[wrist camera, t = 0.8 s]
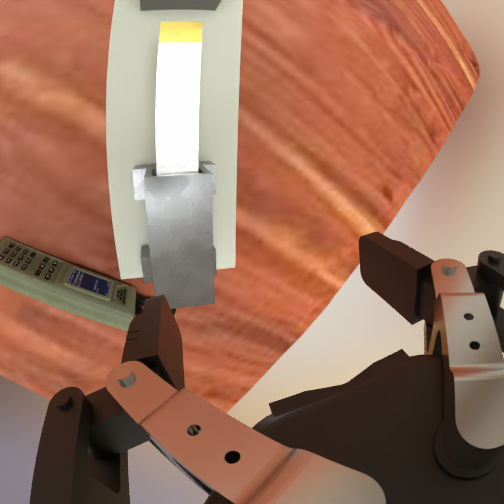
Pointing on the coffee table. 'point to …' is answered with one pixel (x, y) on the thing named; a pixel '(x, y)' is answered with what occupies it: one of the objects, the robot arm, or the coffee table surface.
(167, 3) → the socket
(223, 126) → the base board
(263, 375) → the coffee table surface
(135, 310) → the handheld radio
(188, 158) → the silver metal bar
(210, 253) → the sleeve
